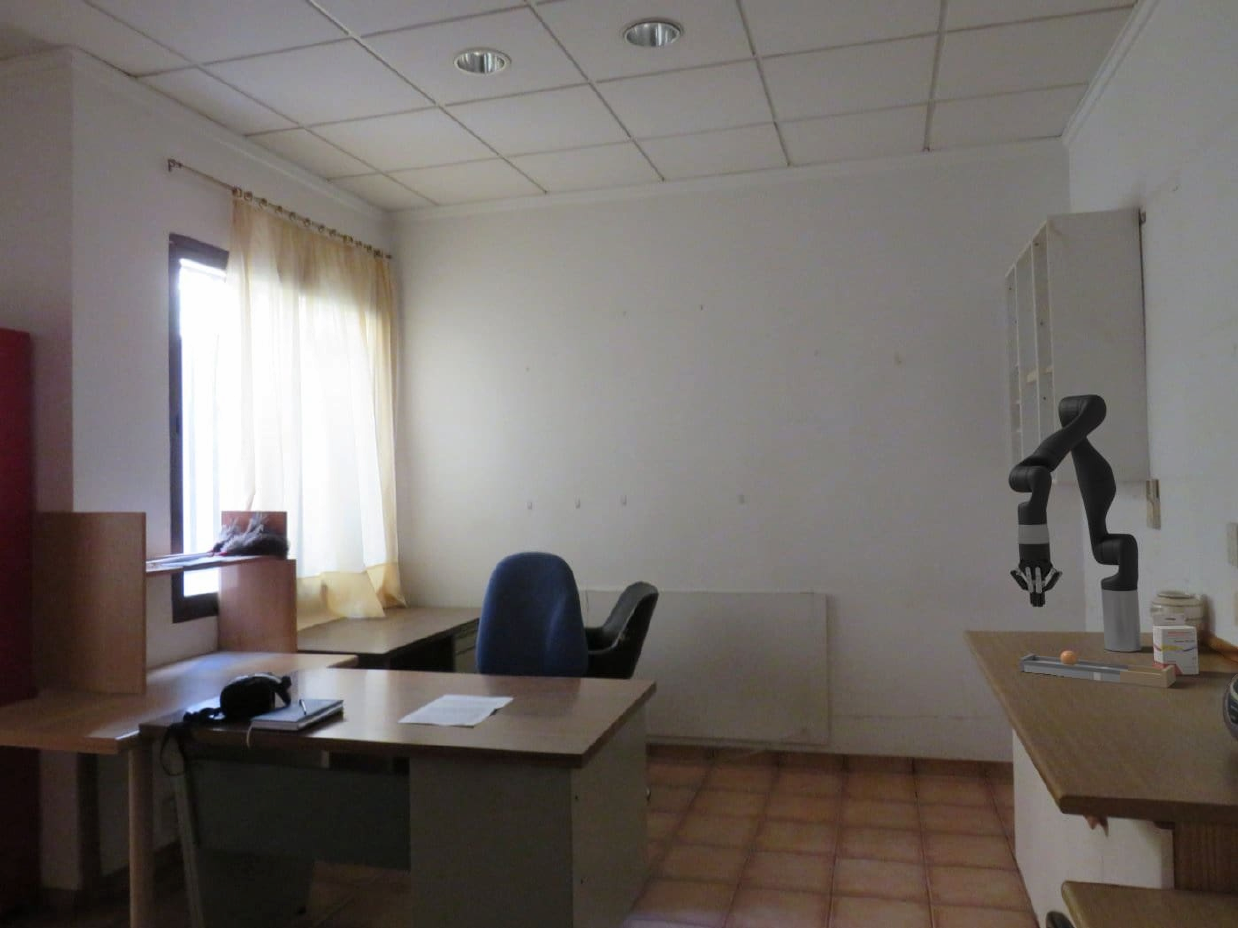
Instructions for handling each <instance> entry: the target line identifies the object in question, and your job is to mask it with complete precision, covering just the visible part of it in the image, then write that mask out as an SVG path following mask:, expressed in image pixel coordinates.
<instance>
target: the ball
mask: <svg viewBox="0 0 1238 928" xmlns="http://www.w3.org/2000/svg"><path fill="white" fill-rule="evenodd" d="M1060 658H1061V661H1062V663H1063V664H1066V665H1075V664H1076V663H1077V661H1078V660H1079V659H1078V655H1077V654H1076V652H1074V651H1072V650H1065V651H1063V652H1061V654H1060Z"/></svg>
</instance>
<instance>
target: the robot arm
mask: <svg viewBox="0 0 1238 928" xmlns="http://www.w3.org/2000/svg"><path fill="white" fill-rule="evenodd" d="M1107 411H1108V409H1107V404H1106V402H1105V399H1104V398H1103V397H1102V396H1101V395H1098V394H1092V393H1091V394H1081V395H1069V396H1065V397H1063V398H1061V400H1060V401H1059V403H1058V409H1057V413H1058V418H1059V422H1060V425H1061V428H1060V429H1058V430H1057V431H1055V432H1053V433H1051V434H1050V435H1049V436H1047V437H1046V438H1045V439H1044V440H1042V441H1041V443H1040V444H1039V446H1037V447H1036V449H1035V450H1034V452H1032V454H1030V455H1029V456H1026V457H1025V458H1024V459H1022V461H1020V462H1018V463H1017V464H1016V465H1015V466H1014V467H1013V468H1012V469H1011V471H1010V472H1009V475H1008V478H1007V479H1008V480H1007V481H1008V485H1009V488H1011V490H1012V491H1013V492H1015V493H1020V494H1027V493H1031V495H1030V498H1029V500H1028V501H1023V502H1020V503H1019V504H1017V521H1018V524H1017V526H1018V527H1017V541H1018V543H1017V544H1018V556H1019V562H1018V565H1017V566H1018V567H1016V568H1015V569H1012V570H1010V572H1009V573H1010V576H1011V577H1012V578H1013V579H1014V580H1015V582H1016V584H1017V585H1018V586H1019V587H1020V589H1021V590H1022V591H1027V592H1028V593H1029V602H1030V605H1032V607H1033V608H1043V607H1044V605H1046V592H1048V591H1052V590H1053V588H1054V587H1055V586H1056V584H1057V582H1058V581H1059V579H1060V578H1061V577H1062V575H1063V571H1061V570H1057V569H1056V568H1055V567H1054V565H1053V563H1052V559H1051V547H1050V546H1051V545H1050V544H1051V543H1050V531H1049V526H1048V515H1047V513H1048V512H1047V508H1048V503H1049V498H1050V493H1051V490H1052V485H1053V479H1052V478H1053V477H1052V474H1051V473H1053V472H1054V471H1055V470H1056V469H1058V467H1059V466H1060V464H1061V463H1062V462H1063V461H1064V459H1065V458H1066V457H1067V456H1068V454H1069V453H1071V458H1072V462H1073V465H1074V469H1075V474H1076V480H1077V484H1078V488H1079V492H1080V495H1081V499H1082V503H1083V507H1084V511H1085V515H1086V521H1087V526H1088V534H1089V541H1090V548H1091V553H1092V556H1093V558H1094V560H1095V562H1096V563H1098V565H1103V566H1104V565H1105V566H1118V571H1117V573H1115V574H1113V575H1110V576H1107V577H1104V578H1102V579H1100V580H1101V581H1100V588H1101V590H1100V591H1101V603H1102V604H1101V605H1102V618H1103V619H1102V620H1103V622H1102V623H1103V636H1104V637H1103V638H1104V648H1105V650H1108V651H1114V652H1122V653H1123V652H1126V653H1127V652H1139V651H1142V649H1143V648H1142V635H1141V634H1142V633H1141V623H1140V622H1141V619H1140V605H1139V604H1140V603H1139V589H1138V588H1139V587H1138V584H1139V583H1138V582H1139V547H1138V546H1139V544H1138V542H1137V539H1136V538H1135V536H1134V535H1132V534H1129V533H1114V532H1113V533H1109V532H1108V529H1107V528H1108V527H1107V515H1108V512H1109V510H1110V507H1111V505H1112V504H1113V501H1114V499H1115V496H1116V493H1117V485H1116V480H1115V476H1114V472H1113V469H1112V467H1111V465H1110V463H1109V462H1108V461H1107V460H1106V458H1105V457H1104V456H1102V454H1101V453H1100V452H1099V451H1098V450H1097V449H1096V448H1095V447H1094V446H1093V445H1092V443H1091V442H1090V440H1089V438H1088V436H1089V435H1090V434H1091V433H1092V432H1093V431H1095V430H1096V429H1097V428H1099V426H1100V425H1101V424H1102V423H1104V421H1105V419H1106V416H1107ZM1022 574H1023V576H1024V577H1025V578H1026V579H1025V578H1024V577H1023V576H1022ZM1048 575H1049V576H1050V579H1049V581H1047V583H1046V580H1047V579H1046V578H1047V577H1048Z"/></svg>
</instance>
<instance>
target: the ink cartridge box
mask: <svg viewBox="0 0 1238 928" xmlns="http://www.w3.org/2000/svg"><path fill="white" fill-rule="evenodd" d="M1152 615H1153V616H1152V619H1153V621H1152V624H1153V625H1152V641H1153V657H1154V659H1153V660H1154V667H1158V668H1166V667H1167V666H1169V665H1175V676H1176V675H1179V674H1181V675H1199V673H1200V672H1199V653H1198V652H1199V651H1198V636H1197V635H1198V632H1197V628H1196V627H1195V626H1192V625H1188V624H1187V614H1186V613H1185V612H1182V613H1175V612H1174V613H1153V614H1152ZM1168 618H1171V619H1174V620H1165V619H1168ZM1179 676H1180V675H1179Z"/></svg>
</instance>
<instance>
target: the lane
mask: <svg viewBox="0 0 1238 928" xmlns="http://www.w3.org/2000/svg"><path fill="white" fill-rule="evenodd" d="M1019 664H1020V665H1019V666H1020V672H1021V671H1025V672H1033V673H1032V674H1034V673H1045V674H1051V675H1050V676H1052V675H1057V676H1056V677H1061V676H1064V678H1070V677H1071V678H1072V679H1080V680H1081V679H1082V680H1090V681H1099V682H1107V681H1108V682H1109V683H1117V684H1125V683H1126V684H1127V685H1136V686H1146V687H1155V688H1163V689H1168V688H1169V687H1170V686H1171V685H1173V684H1174V683H1176V682H1175V681H1176V675H1175V665H1169V666H1167V667H1166V668H1158V667H1155V666H1146V665H1137V664H1125V663H1118V662H1117V663H1114V662H1105V661H1096V660H1095V661H1093V660H1085V659H1084V660H1083V659H1078V661H1077V663H1076V664H1075V665H1066V664H1063V663H1062V661H1061V657H1052V656H1044V655H1042V656H1041V655H1036V653H1029V654H1027V655H1025V656H1023V657H1020V658H1019ZM1025 672H1024V673H1025ZM1126 684H1125V685H1126Z"/></svg>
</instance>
